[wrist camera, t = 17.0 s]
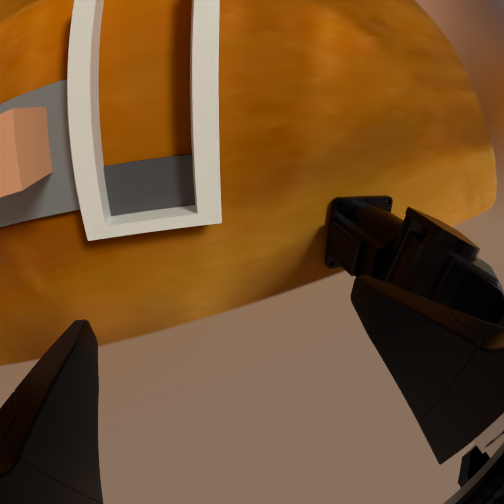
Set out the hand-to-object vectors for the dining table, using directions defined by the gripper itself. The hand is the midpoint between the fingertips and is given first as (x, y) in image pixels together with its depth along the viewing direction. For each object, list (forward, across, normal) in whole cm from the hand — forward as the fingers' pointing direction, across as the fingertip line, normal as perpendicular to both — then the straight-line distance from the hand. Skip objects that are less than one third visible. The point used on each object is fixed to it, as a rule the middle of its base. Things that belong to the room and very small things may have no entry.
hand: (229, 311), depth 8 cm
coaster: (+12, +12, -5) cm, 18 cm away
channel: (+12, +3, -8) cm, 14 cm away
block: (+11, +12, -6) cm, 17 cm away
